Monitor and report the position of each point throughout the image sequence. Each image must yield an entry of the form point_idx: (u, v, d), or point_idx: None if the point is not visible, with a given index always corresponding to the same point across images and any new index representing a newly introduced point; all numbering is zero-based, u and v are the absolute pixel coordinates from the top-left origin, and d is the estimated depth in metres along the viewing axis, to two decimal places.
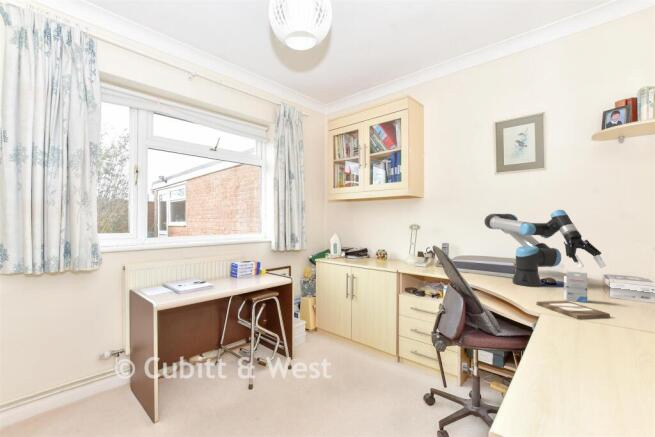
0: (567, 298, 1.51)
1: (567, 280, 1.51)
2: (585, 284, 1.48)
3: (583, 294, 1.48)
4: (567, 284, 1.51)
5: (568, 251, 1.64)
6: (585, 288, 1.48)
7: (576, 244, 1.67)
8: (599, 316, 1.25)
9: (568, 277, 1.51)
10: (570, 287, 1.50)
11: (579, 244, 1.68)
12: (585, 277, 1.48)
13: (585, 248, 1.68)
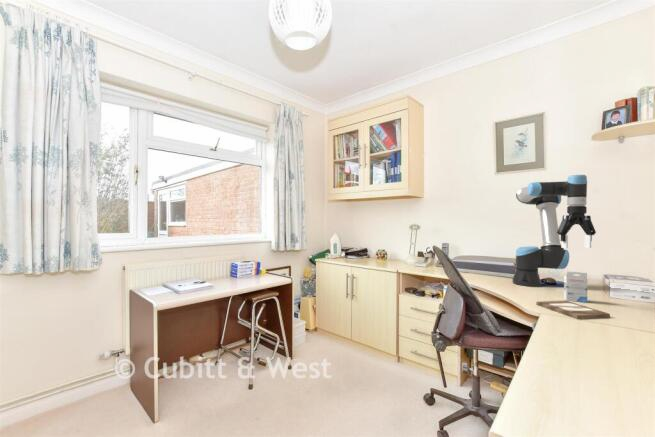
0: (567, 298, 1.51)
1: (567, 280, 1.51)
2: (585, 284, 1.48)
3: (583, 294, 1.48)
4: (567, 284, 1.51)
5: (561, 229, 1.49)
6: (585, 288, 1.48)
7: (574, 222, 1.49)
8: (599, 316, 1.25)
9: (568, 277, 1.51)
10: (570, 287, 1.50)
11: (578, 221, 1.50)
12: (585, 277, 1.47)
13: (582, 225, 1.51)
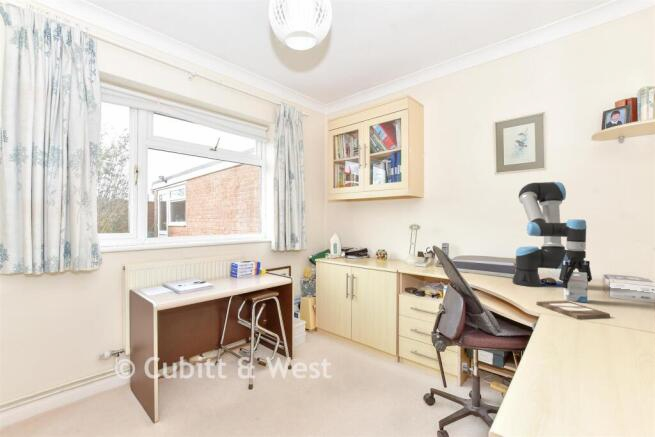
0: (567, 298, 1.51)
1: None
2: (585, 284, 1.48)
3: (583, 294, 1.48)
4: None
5: (562, 276, 1.49)
6: (585, 288, 1.48)
7: (574, 267, 1.49)
8: (599, 316, 1.25)
9: None
10: (570, 287, 1.50)
11: (577, 266, 1.50)
12: (585, 277, 1.47)
13: (580, 270, 1.52)
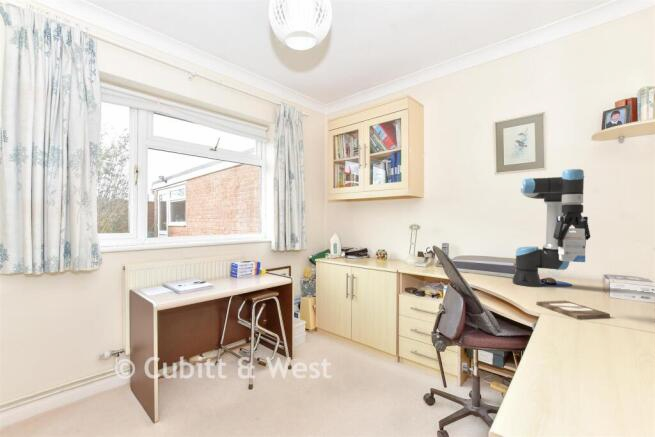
0: (562, 258, 1.34)
1: None
2: (583, 242, 1.31)
3: (580, 253, 1.31)
4: None
5: (557, 233, 1.33)
6: (582, 246, 1.31)
7: (570, 223, 1.32)
8: (599, 316, 1.25)
9: None
10: (566, 246, 1.33)
11: (573, 221, 1.33)
12: (583, 233, 1.31)
13: (576, 227, 1.35)
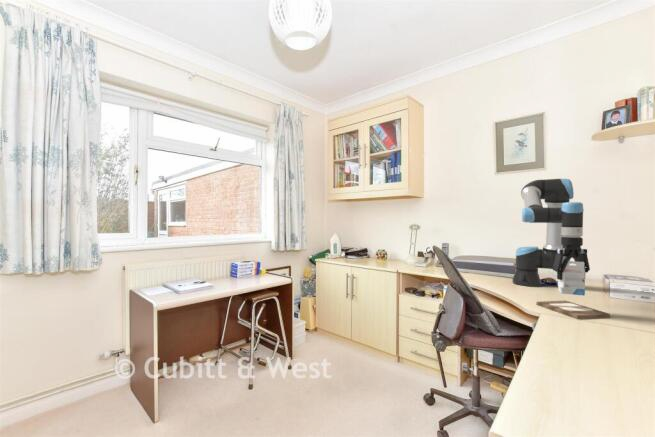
0: (562, 291, 1.34)
1: None
2: (582, 275, 1.31)
3: (580, 286, 1.31)
4: None
5: (557, 266, 1.33)
6: (582, 279, 1.31)
7: (570, 256, 1.32)
8: (599, 316, 1.25)
9: None
10: (566, 279, 1.33)
11: (573, 254, 1.33)
12: (582, 267, 1.31)
13: (576, 259, 1.35)
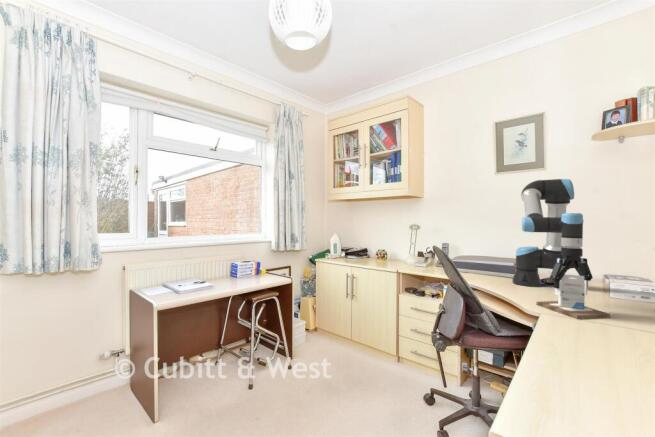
0: (562, 304, 1.34)
1: (562, 284, 1.34)
2: (582, 289, 1.31)
3: (579, 300, 1.31)
4: (562, 288, 1.34)
5: (554, 275, 1.33)
6: (582, 293, 1.31)
7: (569, 266, 1.32)
8: (599, 316, 1.25)
9: (563, 281, 1.34)
10: (565, 292, 1.33)
11: (573, 265, 1.33)
12: (582, 281, 1.31)
13: (577, 269, 1.35)
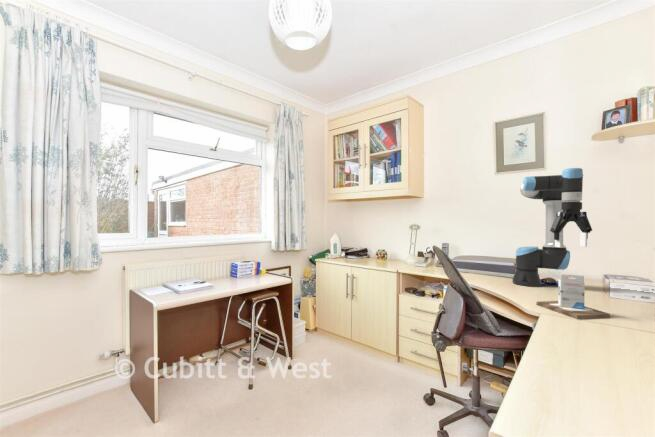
0: (562, 304, 1.34)
1: (562, 284, 1.34)
2: (582, 289, 1.31)
3: (579, 300, 1.31)
4: (562, 288, 1.34)
5: (554, 227, 1.39)
6: (581, 293, 1.31)
7: (569, 219, 1.39)
8: (599, 316, 1.25)
9: (563, 280, 1.34)
10: (565, 292, 1.34)
11: (573, 218, 1.40)
12: (582, 281, 1.31)
13: (577, 222, 1.41)
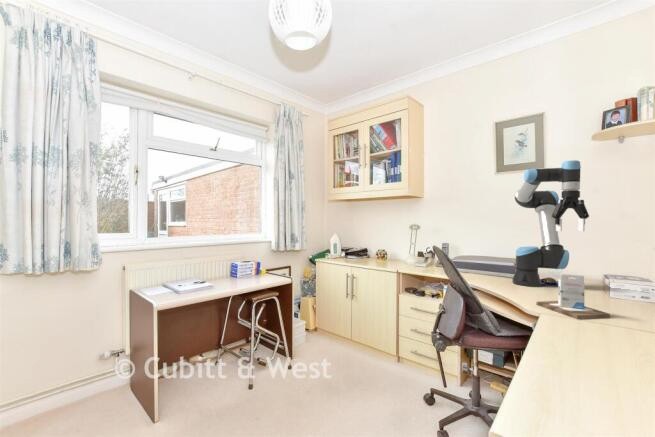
0: (562, 304, 1.34)
1: (562, 284, 1.34)
2: (582, 289, 1.31)
3: (579, 300, 1.31)
4: (562, 288, 1.34)
5: (555, 213, 1.55)
6: (581, 293, 1.31)
7: (568, 206, 1.55)
8: (599, 316, 1.25)
9: (563, 280, 1.34)
10: (565, 292, 1.34)
11: (572, 205, 1.56)
12: (582, 281, 1.31)
13: (575, 209, 1.58)
